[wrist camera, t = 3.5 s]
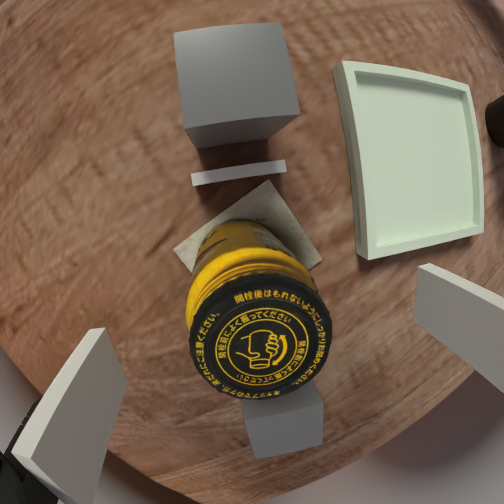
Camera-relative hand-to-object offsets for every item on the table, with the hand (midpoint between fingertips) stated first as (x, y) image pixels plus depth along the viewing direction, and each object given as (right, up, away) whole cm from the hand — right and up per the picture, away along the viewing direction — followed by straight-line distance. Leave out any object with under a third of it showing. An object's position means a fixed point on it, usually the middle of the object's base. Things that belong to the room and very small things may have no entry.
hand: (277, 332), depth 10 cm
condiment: (-1, +3, +11) cm, 11 cm away
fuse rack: (-1, +3, +10) cm, 11 cm away
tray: (+14, +11, +10) cm, 20 cm away
